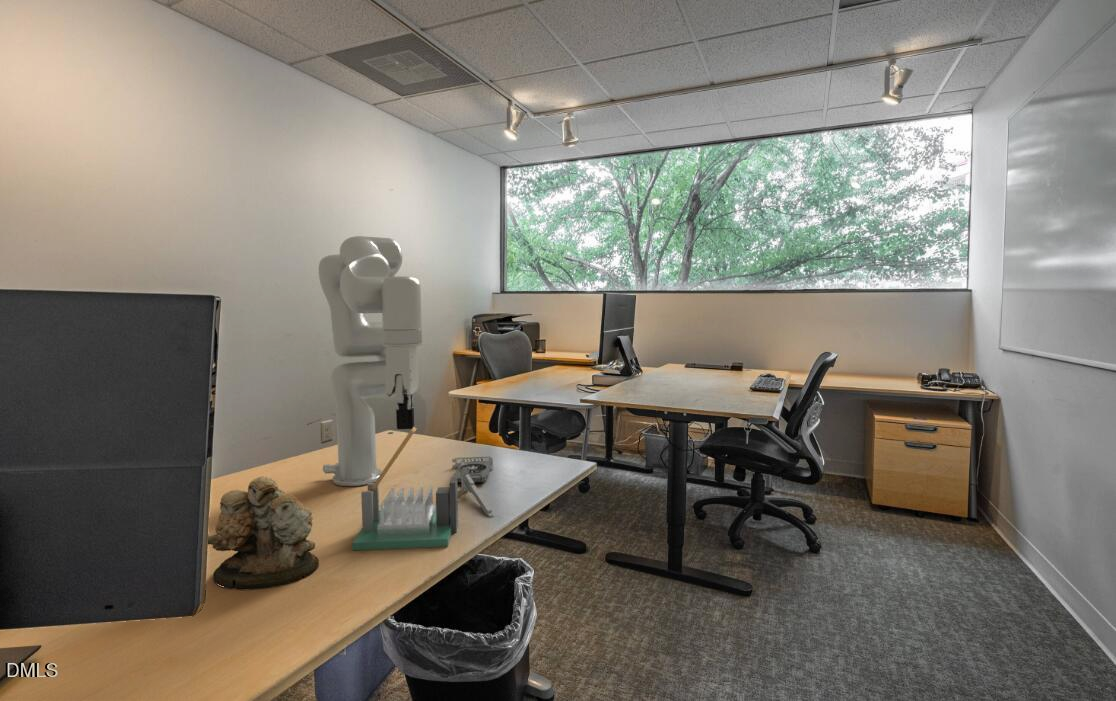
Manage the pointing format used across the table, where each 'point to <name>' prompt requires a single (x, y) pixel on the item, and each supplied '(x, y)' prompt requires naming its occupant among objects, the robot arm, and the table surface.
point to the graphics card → (474, 468)
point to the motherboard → (372, 540)
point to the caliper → (474, 491)
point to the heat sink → (407, 513)
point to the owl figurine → (263, 537)
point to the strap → (392, 459)
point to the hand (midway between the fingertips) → (405, 428)
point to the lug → (447, 505)
